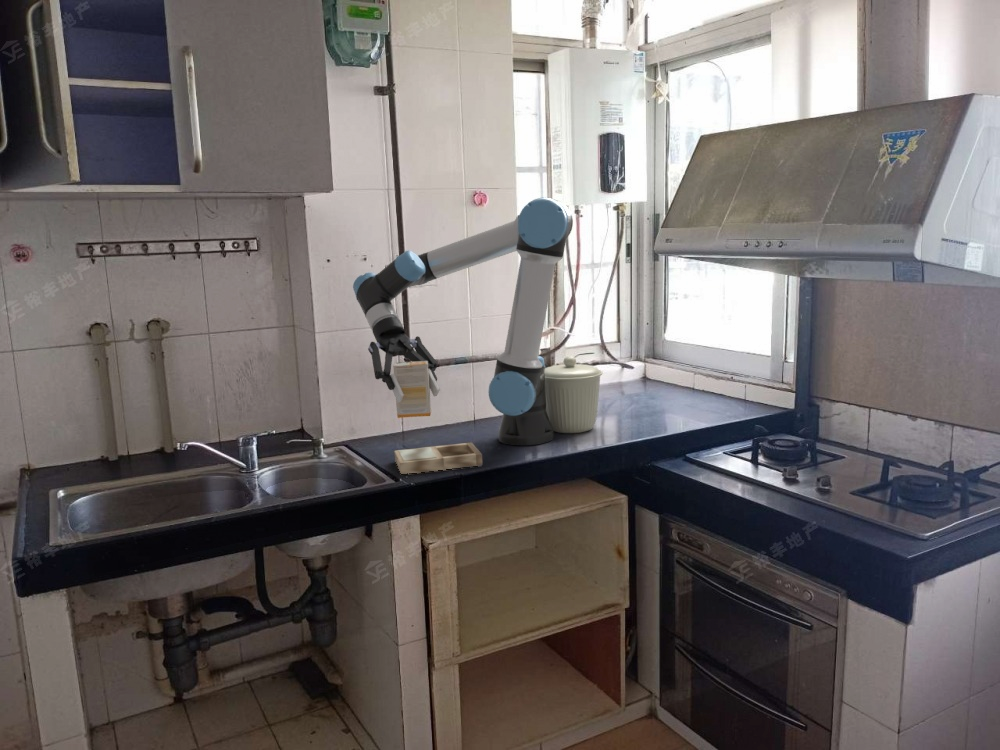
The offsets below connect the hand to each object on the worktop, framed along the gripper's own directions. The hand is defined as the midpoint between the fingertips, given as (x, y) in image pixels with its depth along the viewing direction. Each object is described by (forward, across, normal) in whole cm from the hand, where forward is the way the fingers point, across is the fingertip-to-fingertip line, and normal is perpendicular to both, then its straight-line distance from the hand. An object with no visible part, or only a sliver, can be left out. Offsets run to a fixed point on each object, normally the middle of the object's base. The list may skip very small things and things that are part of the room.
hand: (419, 395), depth 192 cm
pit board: (+12, -5, -14) cm, 19 cm away
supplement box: (+2, 0, -6) cm, 6 cm away
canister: (+9, -51, -17) cm, 55 cm away
